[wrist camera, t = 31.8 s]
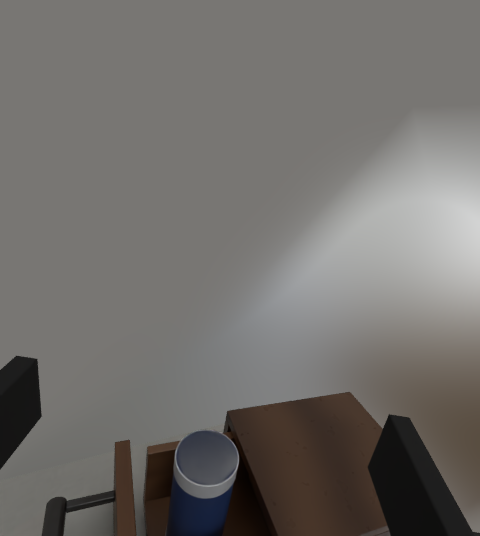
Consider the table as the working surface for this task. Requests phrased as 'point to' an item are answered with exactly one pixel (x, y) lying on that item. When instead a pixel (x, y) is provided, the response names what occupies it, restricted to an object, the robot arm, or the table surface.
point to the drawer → (159, 497)
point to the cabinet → (312, 465)
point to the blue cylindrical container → (202, 484)
